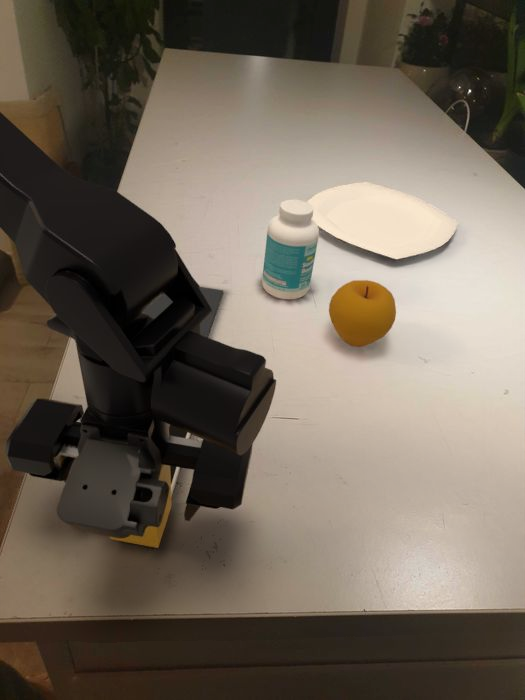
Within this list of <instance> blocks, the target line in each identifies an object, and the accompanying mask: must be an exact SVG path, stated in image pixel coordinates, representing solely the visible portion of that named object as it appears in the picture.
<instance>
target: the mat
mask: <svg viewBox="0 0 525 700" xmlns="http://www.w3.org/2000/svg"><path fill="white" fill-rule="evenodd" d="M199 289H200V291H201V292H202V294H203V295H204V297H205V299H206V300H207V302H208V304H209V305H210V307H211V309H212V312H211V314H210V315H209V316H208V317H207V318H206V319H205V320H204V321H203V322H202V323H201V324H200V335H202V336H205V337H207V338H209V335H210V331H211V329H212V325H213V323H214V320H215V318H216V314H217V311H218V309H219V306H220V304H221V301H222V297H223V296H224V290H223V289H217V288H210V287H203V286H200V287H199ZM172 302H173V301H172V300H170V299H169V298H168V297H167V296H166V295H165V294H163V295H161V296H160V297H159V298H158V299H157V300H156V301H154V302H153V303H152V304H151V305H150V306H149V307H148V308H146V309H145V310H144V311H143V313H145V314H148V315H149V316H151V318H153V319H155V318H156V317H157V316H158V315H159V314H160V313H161V312H162V311H164V310H165V309H166V308H167V307H168V306H169V305H170V304H171V303H172Z"/></svg>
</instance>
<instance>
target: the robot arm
mask: <svg viewBox="0 0 525 700" xmlns="http://www.w3.org/2000/svg"><path fill="white" fill-rule="evenodd" d="M0 229H1V230H2V231H3V232H4V234H5V235H6V236H7V237H8V238H9V239H10V240H11V241H12V242H13V243H14V246H15V250H16V252H17V256H18V261H19V263H20V267H21V270H22V273H23V277H24V278H25V280H26V282H27V283H28V284H29V285H30V286H31V287H32V288H33V289H34V290H35V292H37V293H38V294H39V296H40V297H41V298H42V299H43V300H44V301H45V302H46V303H47V304H48V305H49V306H50V308H51V309H52V311H53V313H55V314H54V315H52V316H51V317H49V318H48V319H47V320H46V326H47V328H49V329H51V330H52V331H54V332H57V333H59V334H62V335H64V336H66V337H69V338H71V339H73V340H74V341H75V347H76V352H77V357H78V363H79V368H80V374H81V378H82V384H83V390H84V393H85V394H84V395H85V400H86V406H87V407H86V409H85V410H84V406H83V404H80V403H74V402H68V401H67V402H66V401H61V400H56V399H49V398H43V397H42V398H36V399H35V400H33V401H32V402H31V403H30V405H29V406H28V407H27V409H26V411H25V412H24V413H23V415H22V417H20V420H19V421H18V423H16V426H15V427H14V429H13V430H12V432H11V433H10V435H9V436H8V438H7V439H6V442H5V448H4V452H5V455H6V459H7V461H8V463H9V466H10V468H11V470H12V471H13V472H15V471H16V472H19V473H25V474H28V475H29V476H31V477H33V478H39V479H45V480H51V481H57V482H64V485H63V489H62V492H61V494H60V497H59V500H58V503H57V506H56V514H57V516H58V518H59V520H60V521H62V522H64V523H65V524H67V525H68V526H70V527H71V528H72V529H73V530H75V531H77V532H82V533H87V534H88V533H90V534H95V535H100V536H105V537H109V538H110V537H114V538H121V539H122V538H126V537H128V536H130V535H135V536H140V537H143V535H144V533H145V529H146V528H147V527H148V526H153V527H159V526H160V525H161V522H162V519H163V515H164V511H165V507H166V503H167V499H168V495H169V486H168V484H167V482H165V481H159V475H160V470H161V466H162V464H163V465H169V466H175V467H180V469H187V470H193V471H192V478H191V483H190V487H189V490H188V494H187V497H186V500H185V504H186V505H185V508H184V512H183V517H184V522H185V521H186V522H190V521H191V520H192V519H193V517H194V516H195V514H196V513H197V512H198V510H199V509H200V508H201V507H203V508H208V509H215V510H218V509H220V508H222V509H228V510H235V509H237V508H238V507H240V506H241V505H242V503H243V499H244V495H245V488H246V484H247V479H248V473H249V469H250V464H251V458H252V453H253V446H254V445H253V444H254V442H255V441H256V438H258V435H259V434H260V432H261V430H262V428H263V426H264V423H265V421H266V418H267V416H268V414H269V411H270V408H271V406H272V402H273V399H274V396H275V391H276V387H277V379H275V377H274V371H273V370H272V369H270V368H268V367H266V364H267V359H266V358H265V357H264V356H263V355H261V354H259V353H256V352H253V351H250V350H248V349H242V348H236V347H234V346H231V345H228V344H226V343H223V342H220V341H218V340H215V339H212V338H210V337H208V338H207V337H205V336H202V335H200V324H201V323H202V322H203V321H204V320H205V319H206V318H207V317H208V316H209V315H210V314H211V312H212V309H211V307H210V305H209V304H208V302H207V300H206V299H205V297H204V295H203V294H202V292H201V291H200V289H199V287H201V285H199V284H198V282H197V280H196V279H194V277H193V275H192V274H191V272H190V271H189V268H187V265H186V264H185V262H184V260H183V259H182V258H181V256H180V254H179V252H178V250H177V249H176V248H177V244H176V241H175V240H174V239H173V237H172V235H171V233H170V232H169V231H168V230H167V229H166V227H164V225H163V224H162V223H161V222H160V221H158V220H157V219H156V218H155V217H153V216H152V215H151V214H149V213H148V212H146V211H145V210H144V209H142V208H141V207H139V206H138V205H137V204H135V203H134V202H132V201H131V200H130V199H128V198H127V197H125V196H124V195H122V194H121V193H120V192H118V191H117V190H116V189H112V188H109V187H106V186H104V185H100V184H97V183H94V182H92V181H91V182H90V181H87V180H84V179H81V178H78V177H76V176H74V175H72V173H71V172H69V171H67V170H66V169H65V168H63V167H61V166H60V165H59V164H57V162H55V161H54V159H52V157H50V156H49V155H48V154H47V153H46V152H45V151H43V149H41V148H40V147H39V146H38V145H37V144H36V143H35V142H34V141H33V140H32V139H30V138H29V136H27V135H26V134H25V133H24V132H23V131H22V130H21V129H20V128H18V127H17V125H15V124H14V123H13V122H12V121H11V120H10V119H9V118H7V116H6V115H4V113H2V112H1V111H0ZM163 294H165V295H166V296H167V297H168V298H169V299H170V300H172V301H173V302H172V303H171V304H170V305H169V306H168V307H167V308H166V309H165V310H164V311H162V312H161V313H160V314H159V315H158V316H157V317H156V318H155V319H153V318H151V316H149V315H148V314H145V313H143V311H144V310H145V309H146V308H148V307H149V306H150V305H151V304H152V303H153V302H154V301H156V300H157V299H158V298H159V297H160V296H161V295H163ZM170 425H172V426H174V427H177V428H179V429H181V430H183V431H186V432H188V433H190V434H191V435H192V436H194V437H196V438H200V439H202V440H197V439H193V438H189V439H187V438H181V437H175V436H170V435H169V427H170Z"/></svg>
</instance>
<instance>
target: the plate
mask: <svg viewBox="0 0 525 700" xmlns="http://www.w3.org/2000/svg"><path fill="white" fill-rule="evenodd" d="M306 202H307V203H309V204H310V205H312V206H313V217H312V220H314V221H315V222H316V224H317V225H318V228H319V229H321V230H322V231H323V232H325V233H327V234H328V235H330V236H332V237H333V238H335V239H337V240H339V241H341V242H344V243H346V244H348V245H350V246H353V247H356V248H359V249H361V250H364V251H367V252H369V253H372V254H376V255H378V256H382V257H385V258H388V259H391V260H394V261H399V260H403V259H407V258H412V257H415V256H420V255H424V254H427V253H429V252H433V251H435V250H437V249H438V248H441V247H442V246H444V245H445V244H446V243H448V242H449V241H450V240H451V238H452V237H453V236H454V233H455V232H456V230H457V228H458V225H459V221H458V220H456V219H455V218H454V217H452V216H450V215H449V214H447V213H445V212H444V211H442V210H441V209H439V208H437V207H435V206H434V205H432V204H430V203H429V202H427V201H425V200H422V199H420V198H418V197H417V196H414V195H411V194H408V193H406V192H403V191H399V190H397V189H393V188H390V187H387V186H383V185H380V184H376V183H372V182H369V181H361V182H353V183H348V184H343V185H338V186H333V187H330V188H327V189H324V190H322V191H320V192H318V193H316V194H315V195H313V196H312V197H310V198H309V199H308V200H307V201H306Z"/></svg>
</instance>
